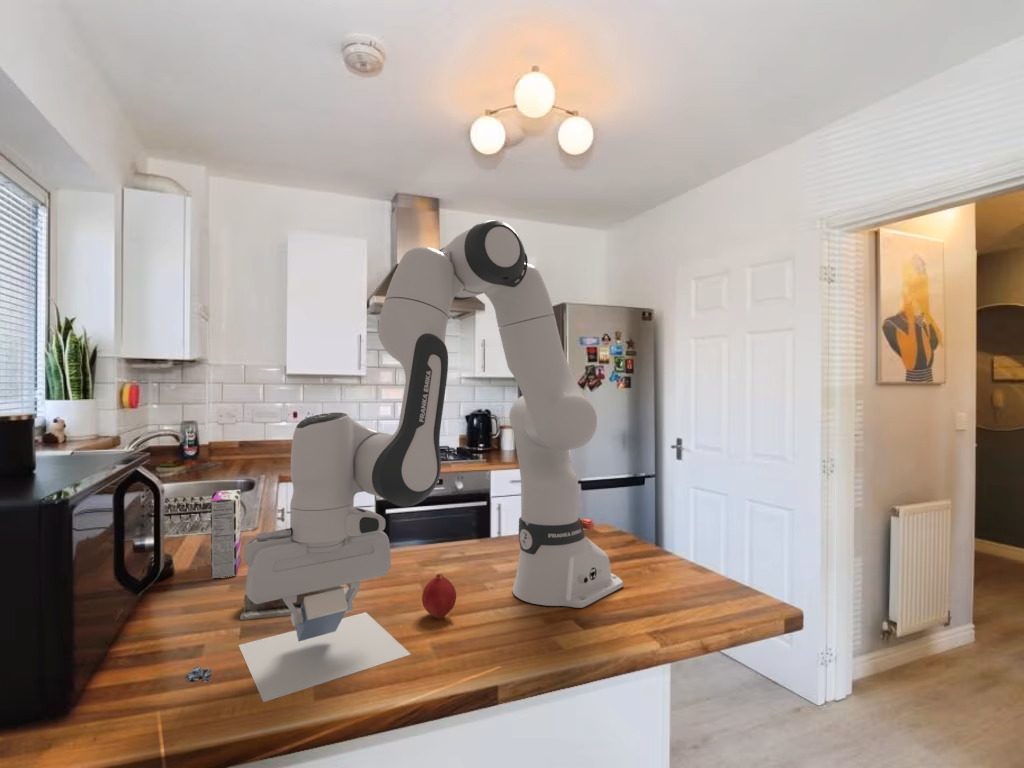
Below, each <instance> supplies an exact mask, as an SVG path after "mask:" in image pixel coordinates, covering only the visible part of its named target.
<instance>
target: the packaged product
mask: <svg viewBox="0 0 1024 768" xmlns="http://www.w3.org/2000/svg"><path fill="white" fill-rule="evenodd" d="M341 588H343V590H344V594H345V595H346V593H347V590H348V588H349V587H348V586H347V587H346V588H345V587H344V585H340V586H335V587H331V588H326V589H322V590H317V591H313V592H308V593H304V594H299V595H297V602H295V603H293V602H292V604H293V605H294V607H295V608H296V609H299V608H301V605H302V603H303V600H304V598H305V597H307V596H311V595H315V594H320V593H324V592H328V591H333V590H337V589H341ZM243 597H244V598H243V602H244V608H243V611H242V613H240V618H239V620H241V621H242V620H243V621H245V620H256V619H264V618H267V619H268V618H279V617H287V616H288V617H289V616H291V611H290V609H289V608H288V607H287V605H286V604H285V602H284V601H283V598H281V599H277V600H272V601H268V602H263V603H259V604H255V603H254V602H252V601H251V600H250V599H249V598H248V596H247V594H246V593H245V594H244V596H243Z"/></svg>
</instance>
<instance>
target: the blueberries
mask: <svg viewBox="0 0 1024 768" xmlns="http://www.w3.org/2000/svg"><path fill="white" fill-rule="evenodd" d="M212 671H213V670H212V669H211V668H205V669H203V668H202V667H201V666H199V665H197V666H194V667H193V668H192V670H190V671H189V673H188V674H186V675H185V677H184V678H185V681H186V682H191V683H194V682H198V681H200V680H201V683H206V682H207V683H208V682H211V681H212V679H211V678H210V677H211V676H212V673H211V672H212Z"/></svg>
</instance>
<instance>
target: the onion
mask: <svg viewBox="0 0 1024 768" xmlns="http://www.w3.org/2000/svg"><path fill="white" fill-rule="evenodd" d="M456 601H457V592H456V588H455V587H454V585H453V583H452V582H451V581H450V580H449V579H448V578H446V577H445V576H444V575H443V573H442V572H438V573H436V575H435V576H434V577H433V578H431V580H430V581H428V582H427V584H426V585H425V586H424V588H423V591H422V595H421V603H422V606H423V608H424V609H425V611H426V612H427V613H428V614H430V615H431V616H432V617H433V618H435V619H438V620H439V619H443V618H444V617H445V616H447V614H449V613H450V612H451V611H452V610H453V608H455V604H456Z"/></svg>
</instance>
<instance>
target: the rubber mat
mask: <svg viewBox="0 0 1024 768" xmlns="http://www.w3.org/2000/svg"><path fill="white" fill-rule="evenodd" d="M238 647H239V650H240V652H241V654H242V657H243V660H244V661H245V663H246V665H247V668H248V671H249V673H250V675H251V677H252V680H253V682H254V684H255V686H256V688H257V691H258V693H259V696H260V697H261V700H262V702H263V703H267V702H269V701H272V700H275V699H278V698H281V697H285V696H288V695H291V694H294V693H298V692H300V691H303V690H306V689H310V688H312V687H315V686H318V685H322V684H324V683H328V682H332V681H334V680H337V679H340V678H343V677H347V676H350V675H353V674H355V673H359V672H362V671H365V670H369V669H371V668H374V667H377V666H380V665H383V664H386V663H389V662H392V661H396V660H399V659H401V658H406V657H408V656H411V654H412V653H410V652H409V651H408V650H407V649H406V648H405V647H404V646H403V645H402V644H401V643H400V642H398V641H397V639H395V637H393V636H392V635H391V634H390V633H389V632H388V631H387V630H386V629H385V628H384V627H382V626H381V624H379V623H378V622H377V621H376V620H375V619H374V618H373V617H372V616H371V615H370V614H368V613H367V611H365V612H362V613H361V612H360V613H358V614H354V615H351V616H347V617H343V618H342V620H341V622H340V624H339V626H338V628H337V630H336V631H335V632H331V633H328V634H324V635H321V636H317V637H313V638H310V639H306V640H302V641H299V642H298V637H297V632H296V629H295V630H293V631H292V630H291V631H288V632H284V633H281V634H276V635H272V636H268V637H265V638H260V639H257V640H254V641H249V642H246V643H242V644H239V645H238Z"/></svg>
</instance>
